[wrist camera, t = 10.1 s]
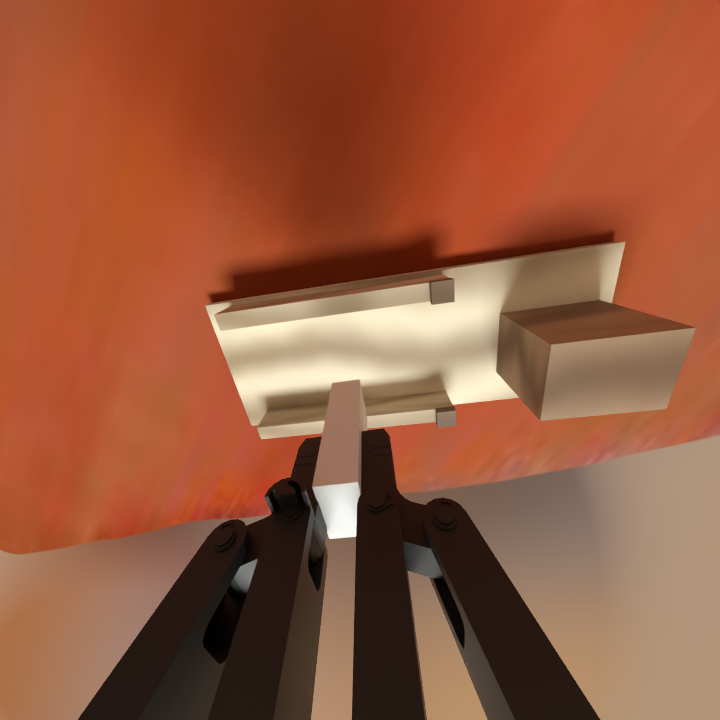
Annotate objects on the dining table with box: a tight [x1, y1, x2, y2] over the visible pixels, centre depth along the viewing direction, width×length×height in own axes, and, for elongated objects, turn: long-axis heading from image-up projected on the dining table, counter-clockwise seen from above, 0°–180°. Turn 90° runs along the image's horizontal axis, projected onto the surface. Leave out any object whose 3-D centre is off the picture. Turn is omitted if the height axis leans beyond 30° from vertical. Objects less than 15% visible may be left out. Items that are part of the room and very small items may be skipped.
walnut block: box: [496, 300, 696, 421], centre depth 18 cm, size 5×7×6 cm
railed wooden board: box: [205, 242, 625, 439], centre depth 21 cm, size 12×30×4 cm, turn 99°
